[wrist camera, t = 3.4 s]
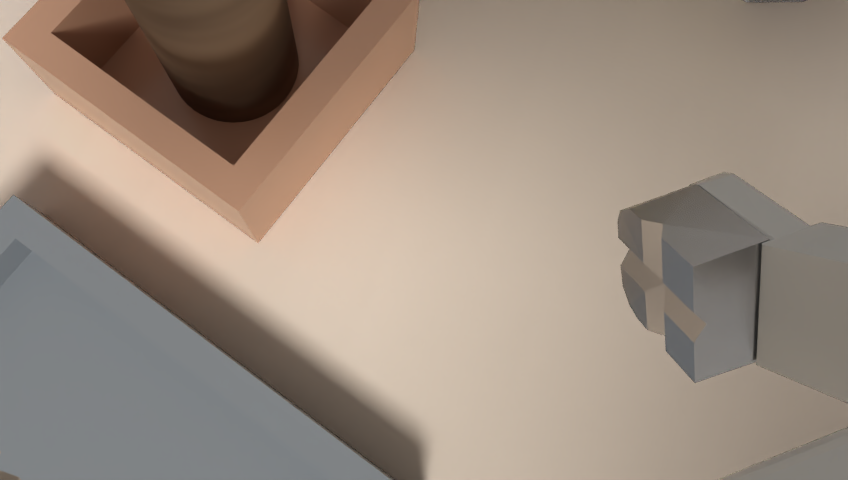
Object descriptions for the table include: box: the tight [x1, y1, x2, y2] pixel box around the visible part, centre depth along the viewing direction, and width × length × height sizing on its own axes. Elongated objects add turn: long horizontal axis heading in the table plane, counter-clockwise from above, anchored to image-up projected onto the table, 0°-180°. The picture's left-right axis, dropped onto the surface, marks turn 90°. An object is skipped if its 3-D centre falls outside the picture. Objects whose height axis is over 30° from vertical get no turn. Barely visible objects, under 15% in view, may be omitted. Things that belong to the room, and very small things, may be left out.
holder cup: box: [2, 0, 419, 243], centre depth 27 cm, size 9×9×4 cm
